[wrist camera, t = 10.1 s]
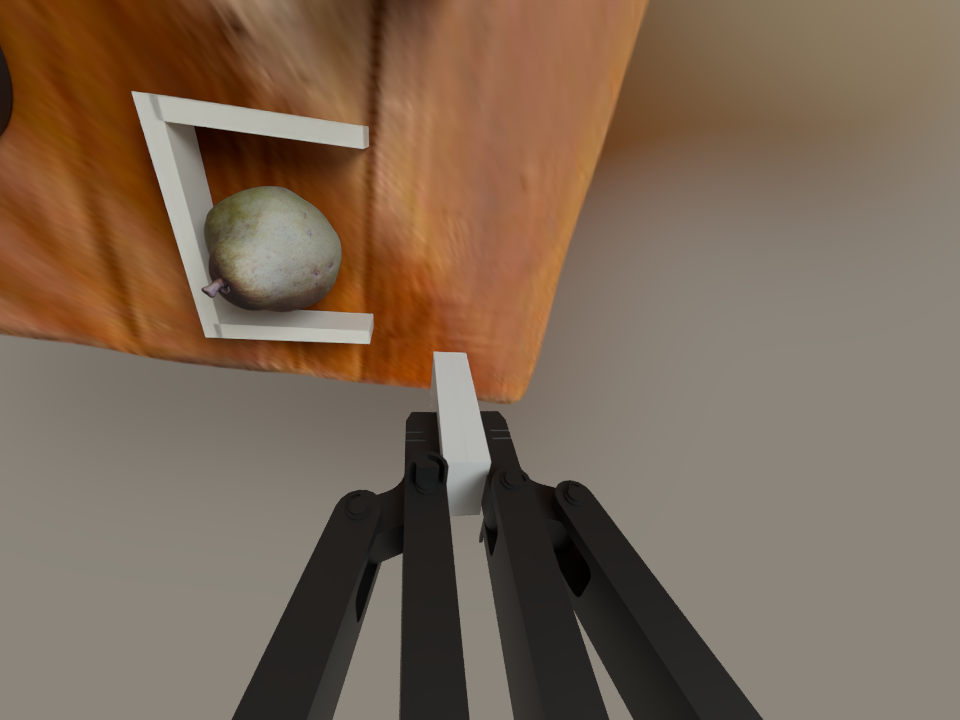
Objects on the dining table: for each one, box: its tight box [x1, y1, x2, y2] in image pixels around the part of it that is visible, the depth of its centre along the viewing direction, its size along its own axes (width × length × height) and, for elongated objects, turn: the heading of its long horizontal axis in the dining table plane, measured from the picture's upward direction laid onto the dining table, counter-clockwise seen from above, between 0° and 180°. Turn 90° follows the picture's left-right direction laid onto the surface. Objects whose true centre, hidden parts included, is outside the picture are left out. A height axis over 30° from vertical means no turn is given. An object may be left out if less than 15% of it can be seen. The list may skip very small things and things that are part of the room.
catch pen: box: [131, 91, 374, 344], centre depth 33 cm, size 15×19×4 cm
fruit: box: [201, 186, 342, 312], centre depth 29 cm, size 10×9×12 cm
